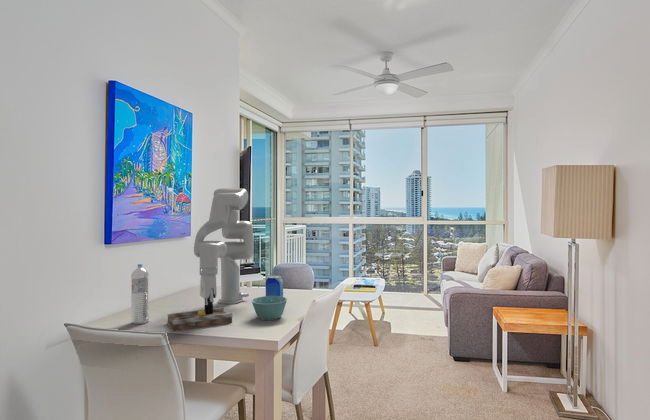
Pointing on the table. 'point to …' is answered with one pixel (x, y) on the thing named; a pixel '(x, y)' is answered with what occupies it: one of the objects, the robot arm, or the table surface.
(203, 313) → the ball
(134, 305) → the water bottle
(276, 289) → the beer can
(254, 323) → the table surface
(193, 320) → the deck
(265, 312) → the bowl
